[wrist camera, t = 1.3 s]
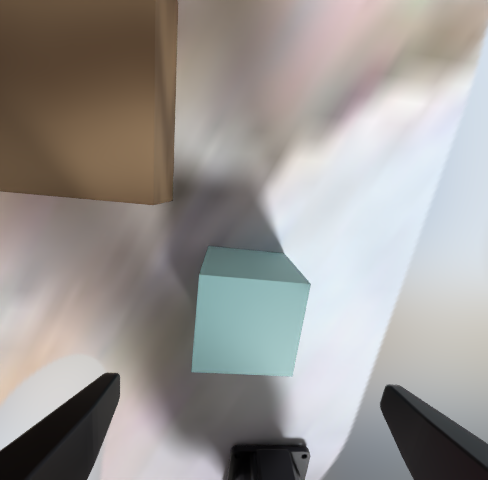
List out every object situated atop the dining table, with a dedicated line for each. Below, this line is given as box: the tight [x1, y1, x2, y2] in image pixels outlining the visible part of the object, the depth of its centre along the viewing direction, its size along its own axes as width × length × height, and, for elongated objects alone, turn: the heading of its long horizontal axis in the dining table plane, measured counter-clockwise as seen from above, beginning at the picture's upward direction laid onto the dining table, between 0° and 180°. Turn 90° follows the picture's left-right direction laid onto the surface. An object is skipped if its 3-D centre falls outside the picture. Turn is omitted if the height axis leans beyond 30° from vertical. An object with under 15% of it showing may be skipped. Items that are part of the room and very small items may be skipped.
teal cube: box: [191, 246, 311, 376], centre depth 13 cm, size 5×5×5 cm
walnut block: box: [0, 0, 178, 205], centre depth 11 cm, size 10×10×4 cm
